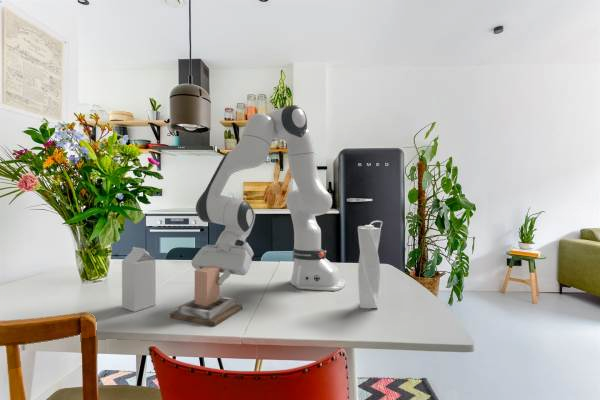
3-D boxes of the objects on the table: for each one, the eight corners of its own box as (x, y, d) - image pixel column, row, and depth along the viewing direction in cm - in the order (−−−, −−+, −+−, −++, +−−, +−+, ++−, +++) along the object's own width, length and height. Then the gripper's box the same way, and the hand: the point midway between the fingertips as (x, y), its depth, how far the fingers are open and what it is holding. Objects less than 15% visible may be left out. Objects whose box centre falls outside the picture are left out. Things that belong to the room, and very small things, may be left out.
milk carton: (134, 312, 94) (134, 250, 93) (121, 307, 97) (121, 248, 97) (155, 305, 100) (155, 247, 99) (143, 301, 103) (143, 245, 103)
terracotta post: (219, 299, 95) (219, 267, 95) (206, 306, 89) (207, 272, 89) (207, 297, 97) (207, 266, 97) (194, 303, 91) (194, 270, 91)
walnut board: (242, 308, 97) (242, 298, 97) (214, 326, 84) (214, 314, 84) (201, 302, 103) (201, 292, 103) (170, 317, 90) (170, 306, 90)
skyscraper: (380, 302, 103) (381, 219, 102) (383, 310, 95) (383, 221, 95) (357, 301, 104) (357, 219, 104) (357, 309, 97) (357, 221, 96)
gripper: (199, 239, 105) (178, 274, 96) (251, 242, 97) (233, 281, 89) (208, 249, 109) (188, 284, 100) (258, 254, 102) (242, 292, 93)
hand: (210, 283), depth 94 cm, fingers closed on terracotta post, 4 cm apart
